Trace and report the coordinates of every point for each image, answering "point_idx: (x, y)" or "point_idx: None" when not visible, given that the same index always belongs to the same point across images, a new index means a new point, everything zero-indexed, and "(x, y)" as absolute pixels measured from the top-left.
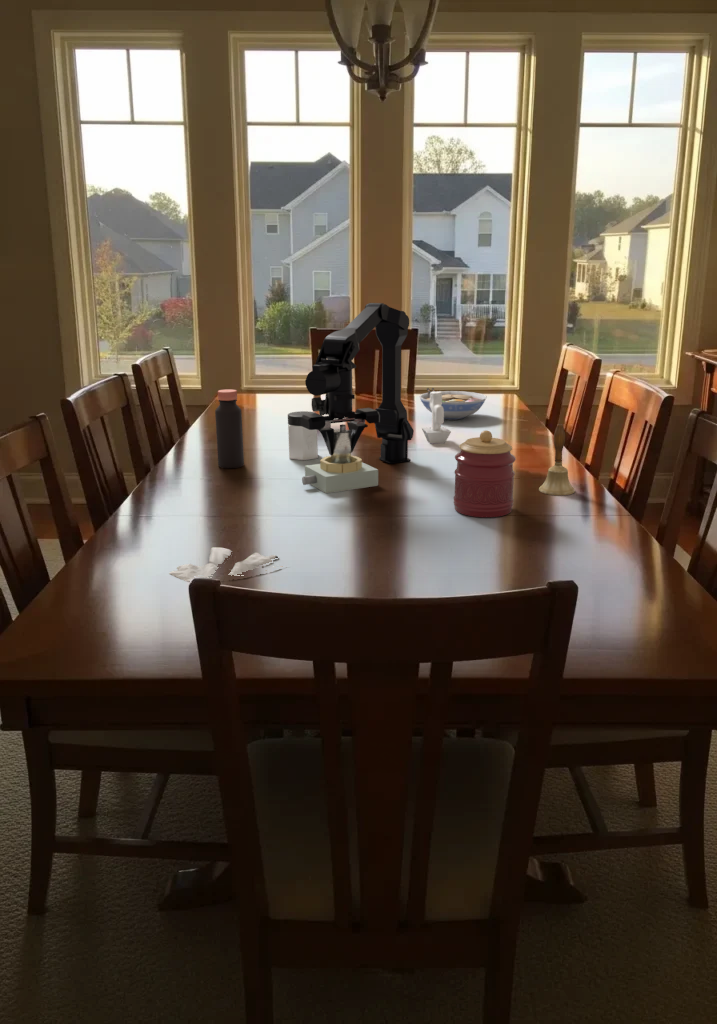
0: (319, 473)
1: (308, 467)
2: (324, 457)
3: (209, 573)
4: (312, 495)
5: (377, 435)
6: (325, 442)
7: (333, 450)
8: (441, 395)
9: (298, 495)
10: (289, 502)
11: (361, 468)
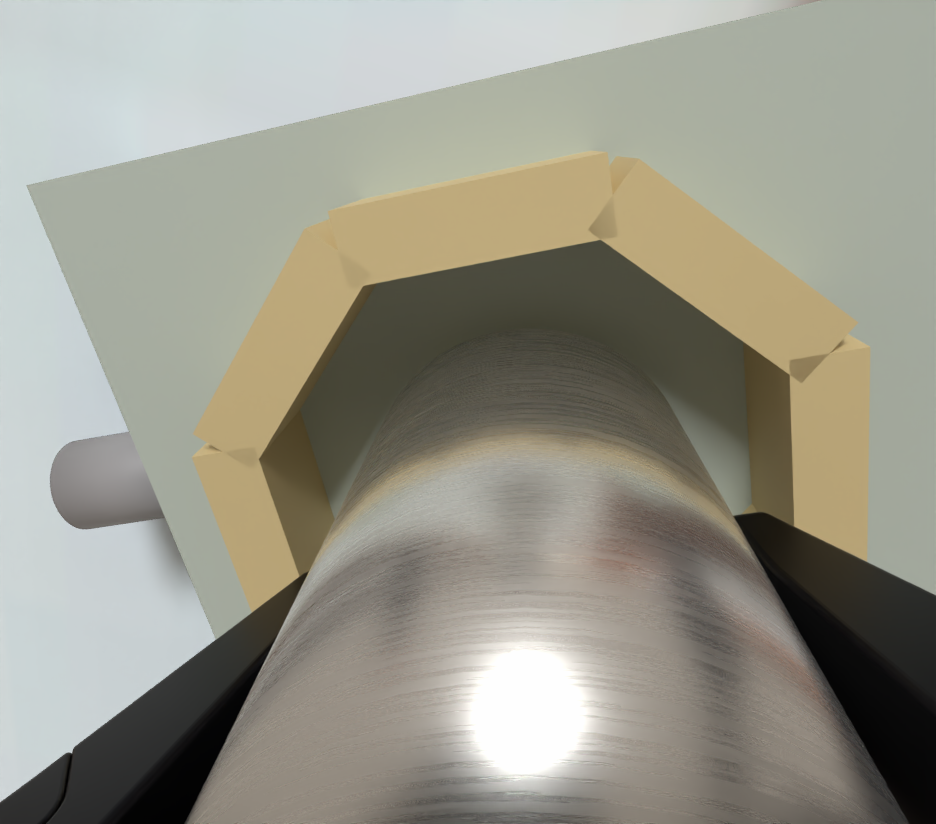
0: (209, 615)
1: (81, 306)
2: (284, 280)
3: None
4: (198, 637)
5: None
6: (106, 748)
7: None
8: None
9: (85, 604)
10: (24, 729)
11: None
